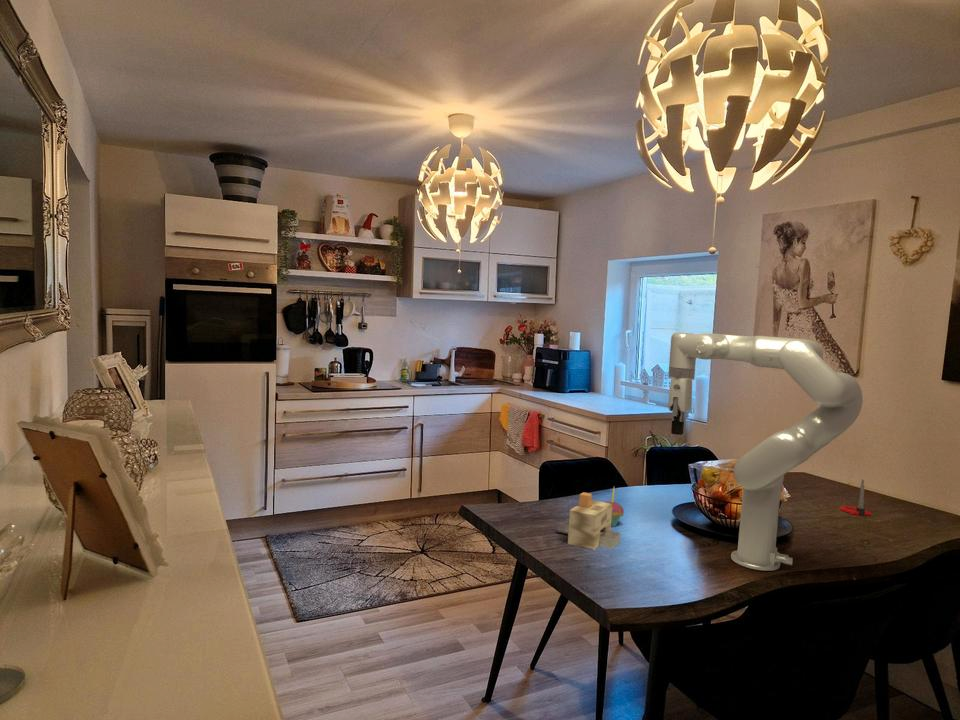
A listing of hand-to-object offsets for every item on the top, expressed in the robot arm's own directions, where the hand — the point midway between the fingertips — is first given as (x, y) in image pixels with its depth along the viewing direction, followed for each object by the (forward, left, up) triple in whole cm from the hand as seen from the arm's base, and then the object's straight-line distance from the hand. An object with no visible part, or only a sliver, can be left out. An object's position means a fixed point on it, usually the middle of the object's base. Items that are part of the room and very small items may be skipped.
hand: (677, 433), depth 190 cm
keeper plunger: (+21, +18, -26) cm, 38 cm away
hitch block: (+19, +18, -32) cm, 41 cm away
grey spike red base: (-49, -72, -32) cm, 93 cm away
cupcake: (+19, 0, -32) cm, 37 cm away
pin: (+21, +18, -32) cm, 42 cm away
